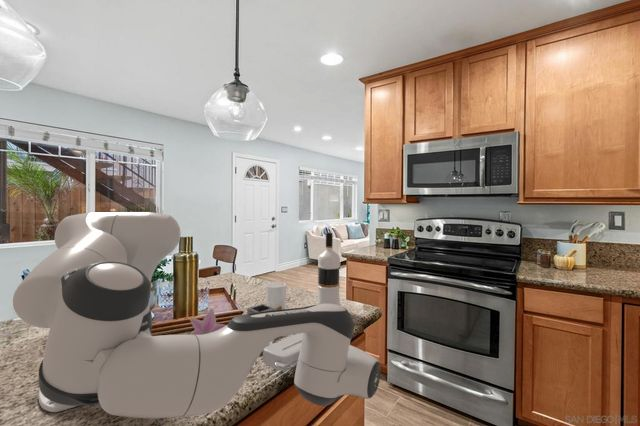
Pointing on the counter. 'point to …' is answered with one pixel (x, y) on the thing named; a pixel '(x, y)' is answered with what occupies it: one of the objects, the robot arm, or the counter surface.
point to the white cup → (276, 294)
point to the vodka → (328, 274)
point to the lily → (205, 324)
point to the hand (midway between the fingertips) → (281, 336)
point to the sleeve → (260, 309)
